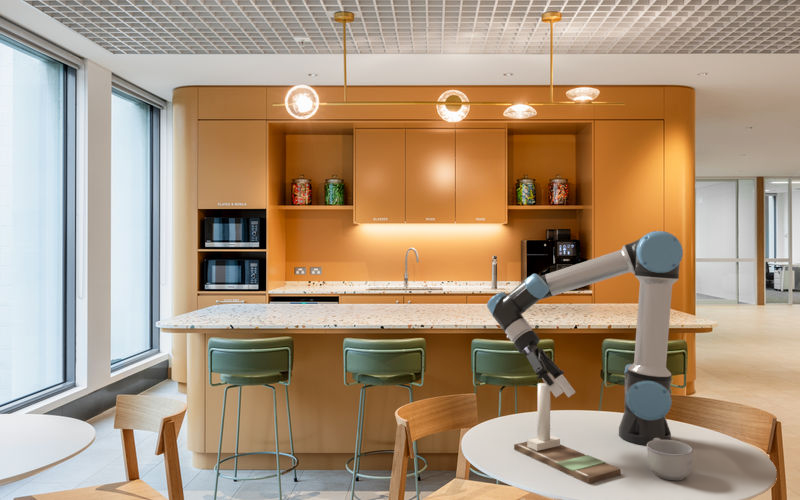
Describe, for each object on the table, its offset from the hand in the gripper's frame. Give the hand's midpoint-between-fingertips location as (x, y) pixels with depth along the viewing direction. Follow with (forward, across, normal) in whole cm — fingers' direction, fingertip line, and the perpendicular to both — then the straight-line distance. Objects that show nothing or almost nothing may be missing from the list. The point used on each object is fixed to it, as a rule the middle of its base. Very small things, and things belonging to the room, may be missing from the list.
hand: (566, 394), depth 163 cm
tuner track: (+14, +3, -11) cm, 18 cm away
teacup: (+31, -3, +8) cm, 32 cm away
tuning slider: (+8, 0, -15) cm, 16 cm away
